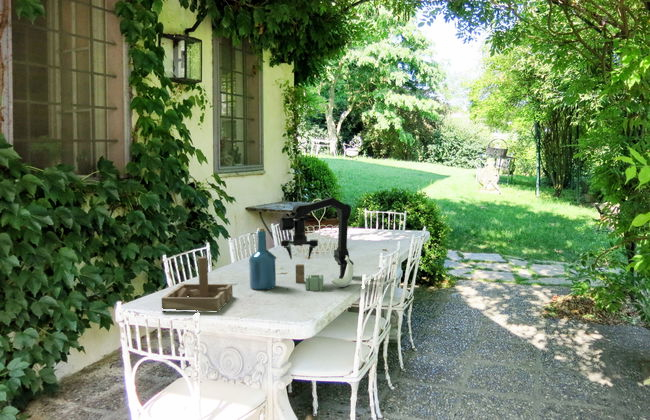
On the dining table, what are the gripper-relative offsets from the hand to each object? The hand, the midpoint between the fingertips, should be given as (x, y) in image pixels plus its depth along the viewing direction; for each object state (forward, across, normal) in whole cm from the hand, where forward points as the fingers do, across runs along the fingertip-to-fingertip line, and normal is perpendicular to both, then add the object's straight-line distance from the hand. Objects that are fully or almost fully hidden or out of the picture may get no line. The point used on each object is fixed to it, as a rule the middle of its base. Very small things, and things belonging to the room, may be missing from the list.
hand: (300, 259), depth 298 cm
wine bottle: (+12, -17, -12) cm, 24 cm away
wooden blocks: (+13, -40, -44) cm, 61 cm away
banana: (+12, +23, -9) cm, 27 cm away
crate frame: (+12, -40, -44) cm, 61 cm away
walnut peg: (+12, 0, 0) cm, 12 cm away
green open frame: (+12, +9, -14) cm, 20 cm away
